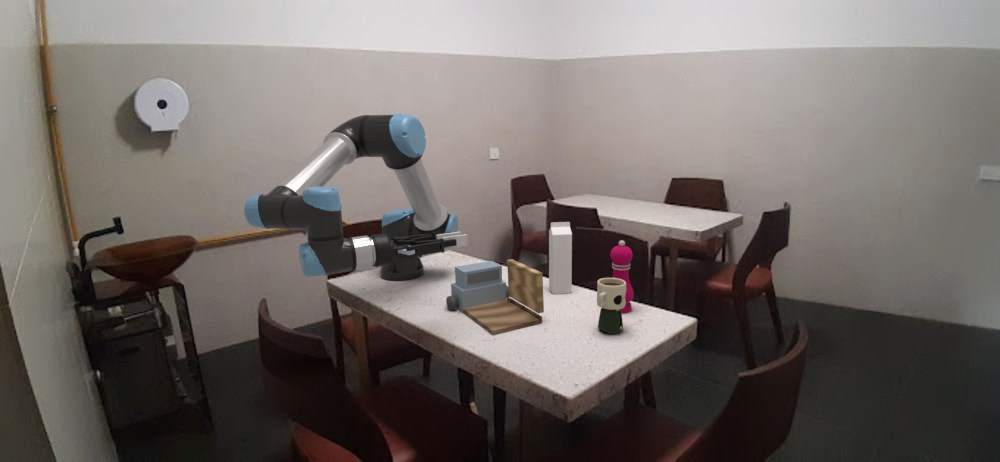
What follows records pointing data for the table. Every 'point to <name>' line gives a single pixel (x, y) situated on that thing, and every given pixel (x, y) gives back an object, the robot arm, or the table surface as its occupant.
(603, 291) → the character mug
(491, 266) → the cab
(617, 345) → the table surface
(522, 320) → the flatbed
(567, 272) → the milk
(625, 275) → the pepper mill
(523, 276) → the side gate
